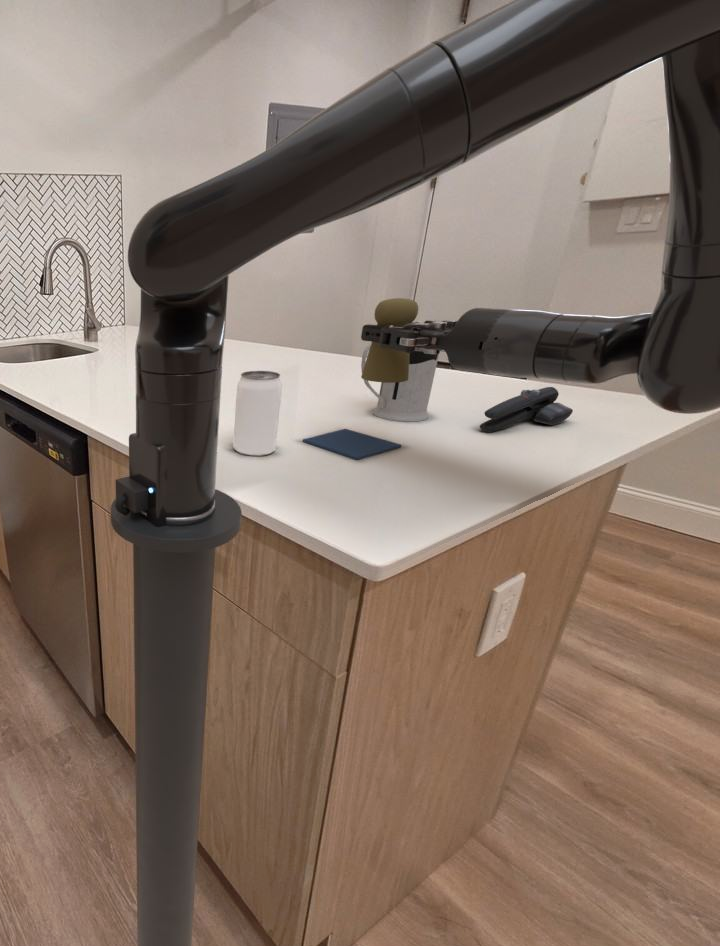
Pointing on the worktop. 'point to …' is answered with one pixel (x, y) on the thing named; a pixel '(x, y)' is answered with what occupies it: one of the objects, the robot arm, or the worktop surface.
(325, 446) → the mat
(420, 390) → the glass holder
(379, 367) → the cork
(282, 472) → the worktop surface
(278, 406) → the can
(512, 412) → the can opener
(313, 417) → the worktop surface
